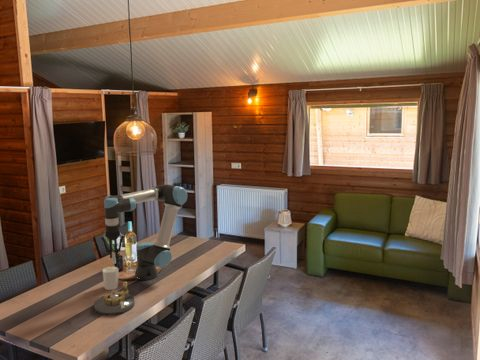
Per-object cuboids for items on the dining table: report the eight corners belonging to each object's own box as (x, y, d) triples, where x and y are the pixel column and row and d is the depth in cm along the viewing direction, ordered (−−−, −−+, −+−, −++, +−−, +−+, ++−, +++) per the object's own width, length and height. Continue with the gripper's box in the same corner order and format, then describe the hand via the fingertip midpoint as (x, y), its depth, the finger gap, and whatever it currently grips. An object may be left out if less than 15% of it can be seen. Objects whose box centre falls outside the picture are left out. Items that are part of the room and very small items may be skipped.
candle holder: (102, 291, 255) (101, 273, 253) (103, 285, 265) (102, 267, 263) (119, 289, 258) (118, 271, 256) (119, 283, 267) (118, 265, 265)
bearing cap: (112, 295, 250) (111, 284, 249) (142, 301, 242) (141, 290, 241) (86, 311, 230) (85, 299, 229) (117, 318, 222) (117, 306, 221)
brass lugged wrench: (116, 306, 228) (115, 294, 227) (100, 303, 233) (99, 291, 231) (134, 294, 244) (133, 283, 242) (119, 291, 248) (118, 280, 247)
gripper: (99, 227, 233) (101, 266, 237) (123, 225, 236) (125, 264, 240) (100, 223, 240) (103, 261, 244) (124, 222, 243) (126, 259, 247)
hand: (114, 263), depth 242 cm, fingers closed
